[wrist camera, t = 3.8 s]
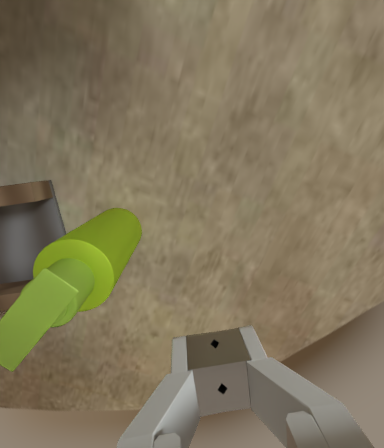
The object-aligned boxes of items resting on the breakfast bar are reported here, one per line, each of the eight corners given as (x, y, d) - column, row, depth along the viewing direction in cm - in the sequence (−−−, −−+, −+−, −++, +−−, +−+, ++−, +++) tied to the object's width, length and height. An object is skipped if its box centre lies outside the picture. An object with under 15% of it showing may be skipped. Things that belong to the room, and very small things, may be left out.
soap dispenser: (156, 221, 30) (112, 321, 11) (123, 260, 31) (28, 415, 12) (118, 192, 29) (-6, 243, 10) (85, 233, 30) (-87, 355, 11)
